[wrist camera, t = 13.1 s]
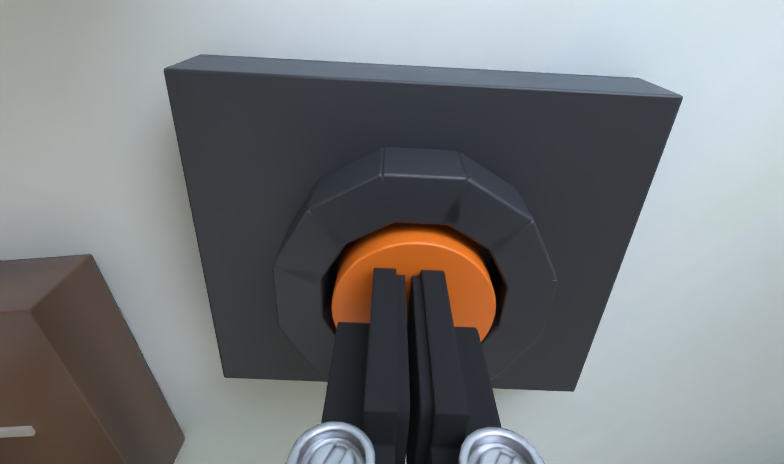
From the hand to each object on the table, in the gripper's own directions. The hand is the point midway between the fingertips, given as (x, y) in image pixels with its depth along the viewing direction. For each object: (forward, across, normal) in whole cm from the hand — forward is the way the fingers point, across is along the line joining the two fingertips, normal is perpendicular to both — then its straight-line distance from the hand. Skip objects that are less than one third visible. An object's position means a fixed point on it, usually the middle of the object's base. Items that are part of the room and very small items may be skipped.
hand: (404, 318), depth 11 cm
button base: (+4, 0, 0) cm, 4 cm away
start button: (+2, 0, 0) cm, 2 cm away
